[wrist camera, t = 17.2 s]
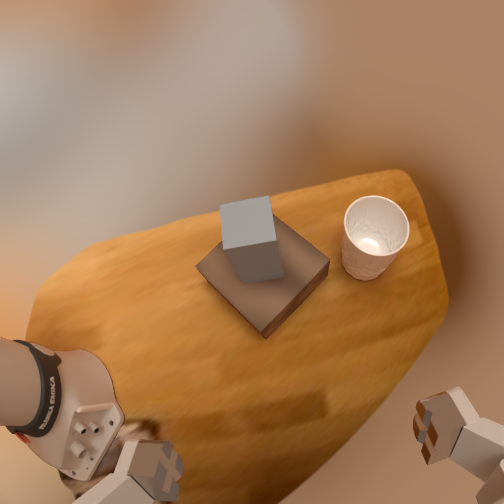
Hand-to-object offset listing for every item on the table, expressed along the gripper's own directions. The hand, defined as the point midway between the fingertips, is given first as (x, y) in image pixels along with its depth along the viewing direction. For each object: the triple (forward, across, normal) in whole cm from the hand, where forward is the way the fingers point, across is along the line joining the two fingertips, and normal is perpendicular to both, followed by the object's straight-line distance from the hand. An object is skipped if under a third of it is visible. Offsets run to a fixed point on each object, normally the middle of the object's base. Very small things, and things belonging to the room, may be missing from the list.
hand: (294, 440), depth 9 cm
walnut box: (+35, +2, +10) cm, 36 cm away
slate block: (+30, +2, +6) cm, 31 cm away
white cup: (+35, -12, +10) cm, 38 cm away
